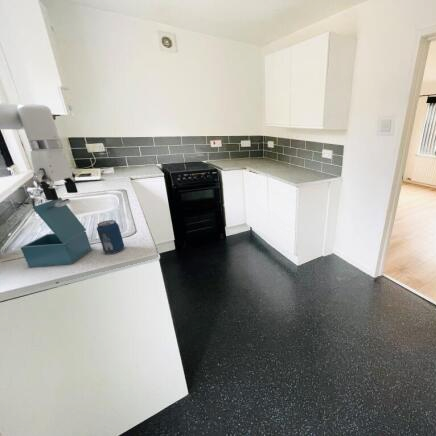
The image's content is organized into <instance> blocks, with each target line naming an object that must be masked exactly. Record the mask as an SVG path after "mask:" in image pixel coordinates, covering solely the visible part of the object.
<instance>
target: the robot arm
mask: <svg viewBox="0 0 436 436" xmlns="http://www.w3.org/2000/svg"><path fill="white" fill-rule="evenodd" d="M0 130H24V133H25V135H26V139H27V140H28V144H29V146H30V149H31V151H30V159H31V165H32V168H33V173H34V175H33V176H32V180H33V181H34V182H35V183H36V185H37V186H38V187H39V189H41V190H42V191H43V194H44V197H45V200H46V201H52V200H58V198H59V197H58V193H57V191H56V188H55V187H54V185H55V182H59V181H62V180H63V181H64V182H63V184H64V186H65V190H66V193H67V194H77V193H78V192H79V190H78V188H77V185H76V179H75V178H76V169H75V168H74V167H71V165H70V162H69V160H68V157H67V154H66V153H65V151H64V148H63V144H62V141H61V138H60V135H59V132H58V129H57V125H56V123H55V119H54V116H53V113H52V110H51V108H50V107H49V106H47V105H44V104H37V103H36V104H35V103H22V104H16V103H5V102H0Z"/></svg>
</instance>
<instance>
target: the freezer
mask: <svg viewBox="0 0 436 436" xmlns="http://www.w3.org/2000/svg"><path fill="white" fill-rule="evenodd" d="M20 250H21V253H22V255H23V257H24V259H25V262H26V264H27V266H28V268H36V267H37V268H38V267H49V266H51V267H52V266H63V265H64V266H65V265H73V264H74V263H76V262H77V261H78V260H79V259H80V258H82V257H83V256H85V255H86V254H87V253H88V252H90V251H91V250H92V246H91V242H90V240H89V236H88V234H87V231H84V232H82V233H81V234H79V235H77V236H76V237H74V238H72V239H71V240H69V241H67V242H66V243H64V244H63V243H62V242H61V241H60V239H59V238H58V237H57V236H56V235H55V234H54V233H46V234H44V235H42V236H41V237H38V238H37V239H35V240H32V241H31V242H28V243H26V244H24V245H23V246H20Z"/></svg>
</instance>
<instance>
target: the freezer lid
mask: <svg viewBox="0 0 436 436" xmlns="http://www.w3.org/2000/svg"><path fill="white" fill-rule="evenodd" d="M71 202H72V201H71V199H69V198H65V199H63V198H62V197H58V200H48V201H47V202H43V203H41V204H38V205H34V206H32V207H31V208H32V209H33V211H34V212H35V213H36V214H37V215H38V216H39V217H40V219H41V220H42V221H43V222H44V223H45V224H46V226H47V227H48V228H49V229H50V230H51V231H52V233H53V234H55V235H56V236H57V237H58V238H59V239H60V241H61V242H62V243H63V244H64V243H66V242H67V241H69V240H71V239H72V238H74V237H76V236H77V235H79V234H81V233H82V232H87V229H86V227H85V226H84V225H83V224H82V223H81V221H80V219H78V217H77V216H76V215H75V213H74V212H73V211H72V210H71V208H70V207H69V206H68V204H71Z"/></svg>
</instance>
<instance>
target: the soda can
mask: <svg viewBox="0 0 436 436" xmlns="http://www.w3.org/2000/svg"><path fill="white" fill-rule="evenodd" d="M120 229H121V228H120V225H119V224H118V223H117V221H116V220H113V219H110V220H104V221H101V222H98V223H97V226H96V231H97V235H98V238H99V242H100V244H101V247H102V248H101V249H102V250H103V252H104V253H105V254H108V255H114V254H117V253H120V252H121V251H123V250H124V247H125V242H124V240H123V237H122V236H123V235H122V233H121V230H120Z"/></svg>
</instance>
